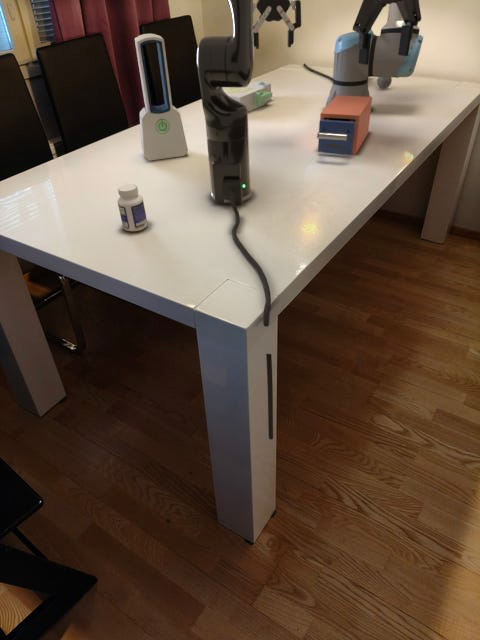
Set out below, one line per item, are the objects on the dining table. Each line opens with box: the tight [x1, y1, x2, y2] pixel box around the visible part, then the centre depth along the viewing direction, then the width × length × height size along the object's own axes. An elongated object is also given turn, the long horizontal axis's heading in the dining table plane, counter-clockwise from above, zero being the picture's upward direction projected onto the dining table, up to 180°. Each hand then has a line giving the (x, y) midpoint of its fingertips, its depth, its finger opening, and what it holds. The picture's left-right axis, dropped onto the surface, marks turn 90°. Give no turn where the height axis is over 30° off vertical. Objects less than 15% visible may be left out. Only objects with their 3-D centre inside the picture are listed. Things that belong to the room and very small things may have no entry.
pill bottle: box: [117, 182, 148, 232], centre depth 102 cm, size 5×5×9 cm
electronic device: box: [134, 33, 189, 162], centre depth 131 cm, size 12×8×30 cm, turn 105°
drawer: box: [316, 118, 355, 155], centre depth 134 cm, size 23×9×8 cm, turn 158°
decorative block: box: [222, 80, 273, 113], centre depth 175 cm, size 26×6×20 cm
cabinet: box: [319, 95, 373, 155], centre depth 139 cm, size 19×10×10 cm, turn 158°
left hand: (273, 47), depth 129 cm, fingers open, 8 cm apart
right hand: (383, 59), depth 122 cm, fingers open, 13 cm apart
